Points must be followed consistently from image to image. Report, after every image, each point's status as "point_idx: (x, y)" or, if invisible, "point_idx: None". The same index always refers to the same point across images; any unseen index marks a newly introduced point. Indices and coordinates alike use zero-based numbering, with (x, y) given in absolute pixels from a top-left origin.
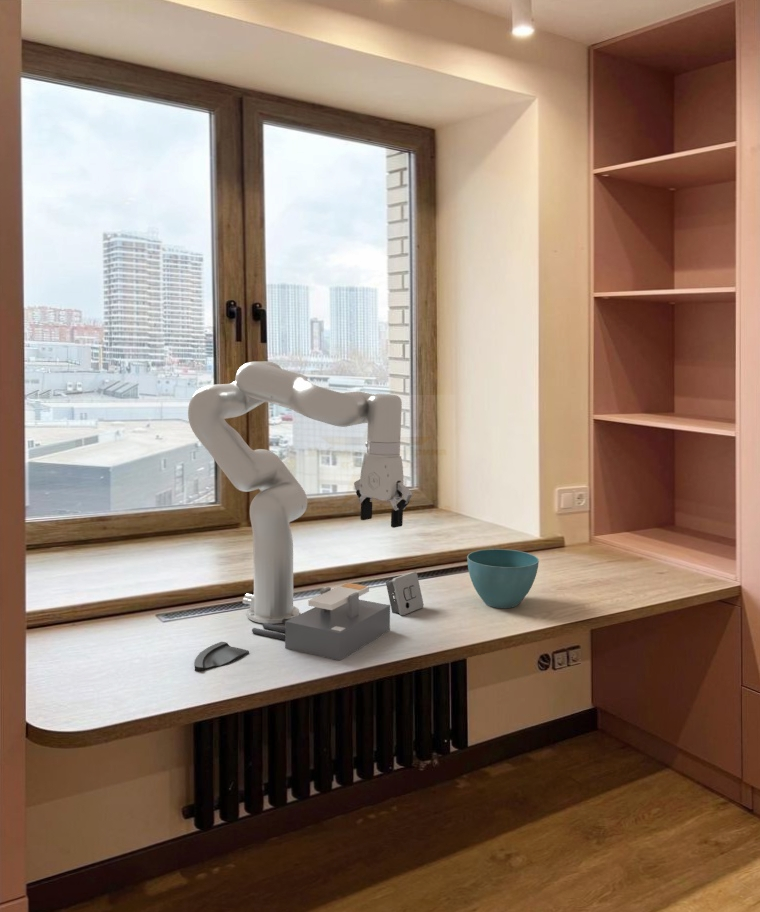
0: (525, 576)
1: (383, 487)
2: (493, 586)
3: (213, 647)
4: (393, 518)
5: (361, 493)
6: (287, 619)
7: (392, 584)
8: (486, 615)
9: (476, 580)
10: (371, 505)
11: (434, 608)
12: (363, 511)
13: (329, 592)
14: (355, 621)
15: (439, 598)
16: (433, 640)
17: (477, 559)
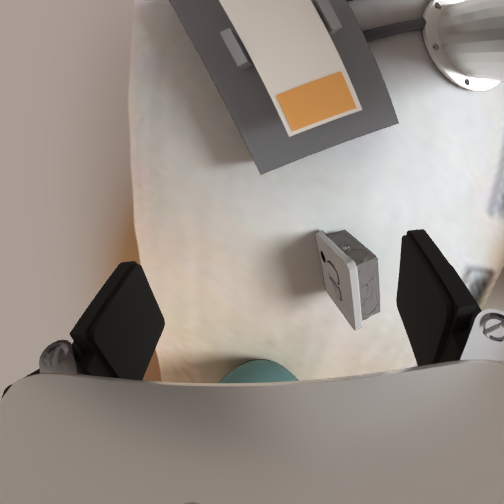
0: None
1: (4, 498)
2: (232, 379)
3: None
4: (99, 298)
5: (497, 372)
6: (418, 22)
7: (357, 260)
8: (231, 333)
9: (265, 379)
10: (420, 363)
11: (310, 300)
12: (423, 269)
13: (304, 10)
14: (202, 37)
15: (343, 333)
16: (172, 194)
17: None
